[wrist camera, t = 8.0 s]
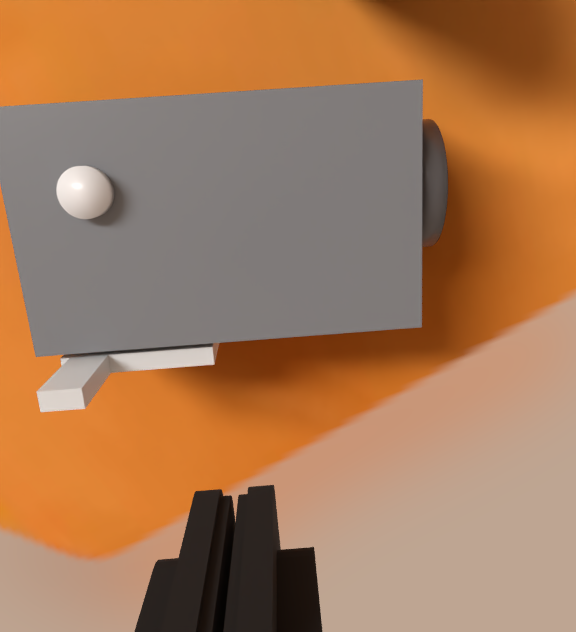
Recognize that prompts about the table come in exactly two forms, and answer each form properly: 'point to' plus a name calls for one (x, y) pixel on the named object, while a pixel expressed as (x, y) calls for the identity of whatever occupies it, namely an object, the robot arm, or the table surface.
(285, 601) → the robot arm
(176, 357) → the hatch
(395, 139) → the housing
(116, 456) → the table surface
